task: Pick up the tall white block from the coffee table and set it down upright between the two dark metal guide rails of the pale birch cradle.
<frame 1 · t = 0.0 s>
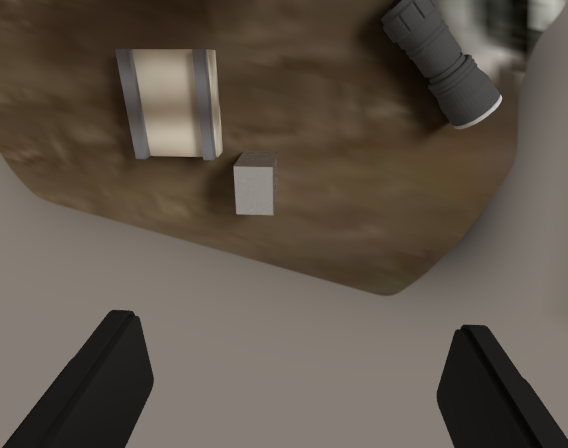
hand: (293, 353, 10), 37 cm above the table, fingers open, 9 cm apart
cradle: (180, 103, 43), on the table
tall white block: (260, 173, 46), on the table
flashlight: (432, 60, 39), on the table
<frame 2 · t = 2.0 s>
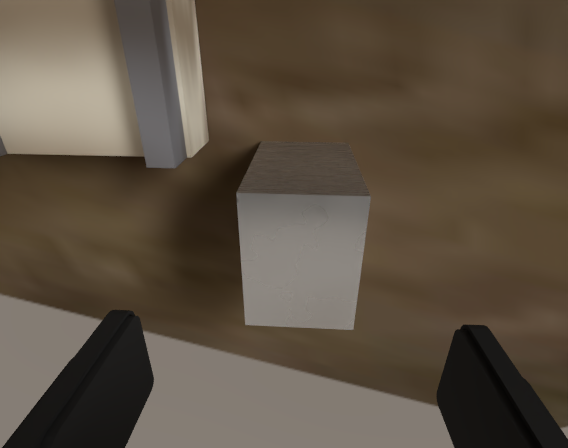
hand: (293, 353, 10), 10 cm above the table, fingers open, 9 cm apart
cradle: (85, 5, 15), on the table
tall white block: (302, 195, 19), on the table
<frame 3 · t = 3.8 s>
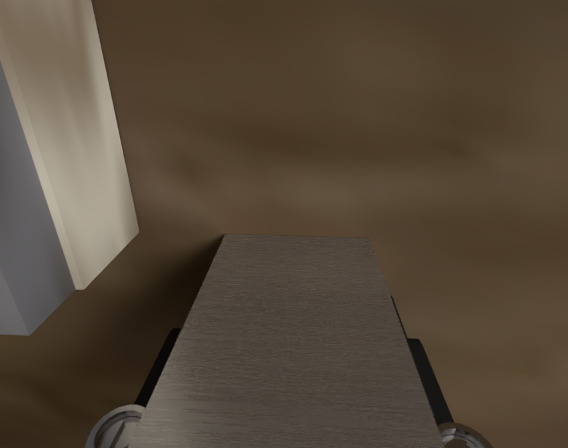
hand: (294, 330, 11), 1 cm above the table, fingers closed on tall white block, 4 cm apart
tall white block: (294, 311, 12), on the table, touching gripper
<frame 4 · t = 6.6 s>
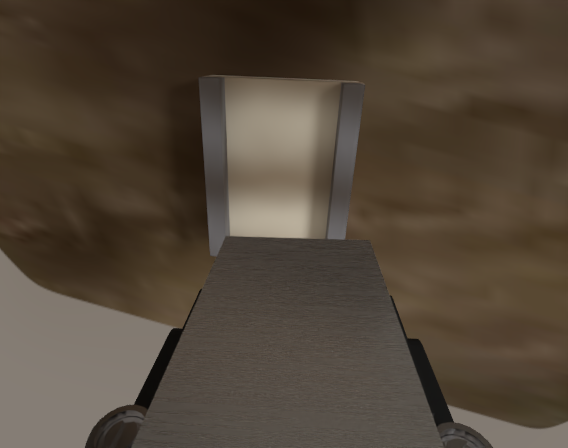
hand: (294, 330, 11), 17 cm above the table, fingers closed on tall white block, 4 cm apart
cradle: (281, 162, 26), on the table
tall white block: (295, 313, 12), point 16 cm above the table, touching gripper
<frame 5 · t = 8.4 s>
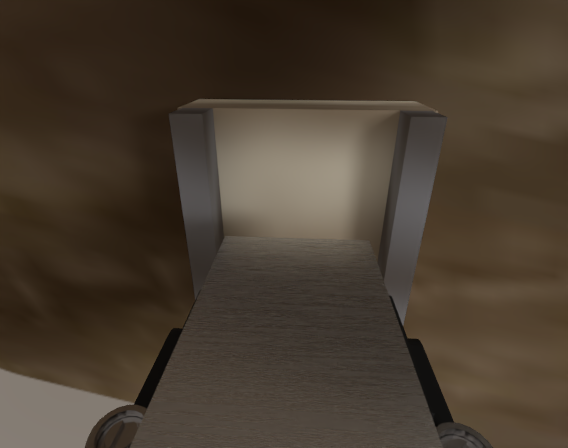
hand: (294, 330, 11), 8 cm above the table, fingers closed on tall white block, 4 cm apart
cradle: (302, 217, 18), on the table
tall white block: (294, 313, 12), point 7 cm above the table, touching gripper
when the fingers open (6 cm above the table, at t = 9.6 s): tall white block drops 2 cm, resting on cradle.
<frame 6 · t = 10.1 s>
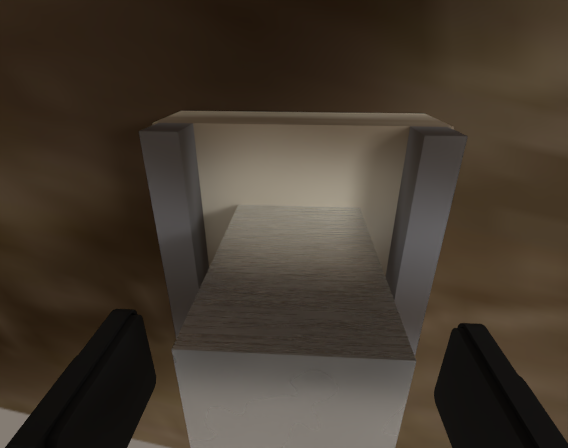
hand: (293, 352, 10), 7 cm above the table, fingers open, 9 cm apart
cradle: (297, 239, 17), on the table
tall white block: (296, 273, 14), point 3 cm above the table, touching cradle
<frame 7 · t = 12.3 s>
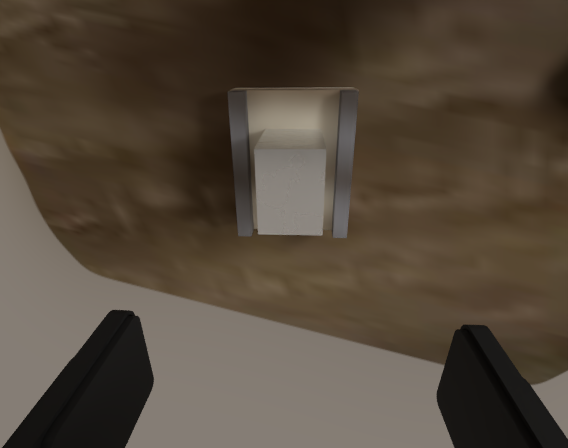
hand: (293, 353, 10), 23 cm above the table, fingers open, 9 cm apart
cradle: (293, 157, 31), on the table
tall white block: (292, 165, 29), point 3 cm above the table, touching cradle
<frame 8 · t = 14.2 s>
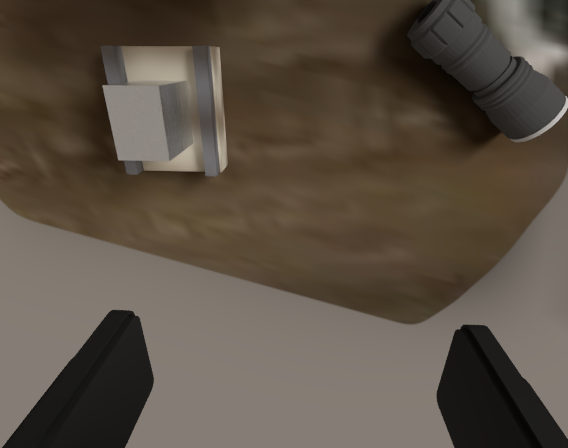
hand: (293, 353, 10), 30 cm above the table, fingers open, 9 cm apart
cradle: (178, 109, 37), on the table
tall white block: (168, 112, 34), point 3 cm above the table, touching cradle
flashlight: (472, 68, 34), on the table
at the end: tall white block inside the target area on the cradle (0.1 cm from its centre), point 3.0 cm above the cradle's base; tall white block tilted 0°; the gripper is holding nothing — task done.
